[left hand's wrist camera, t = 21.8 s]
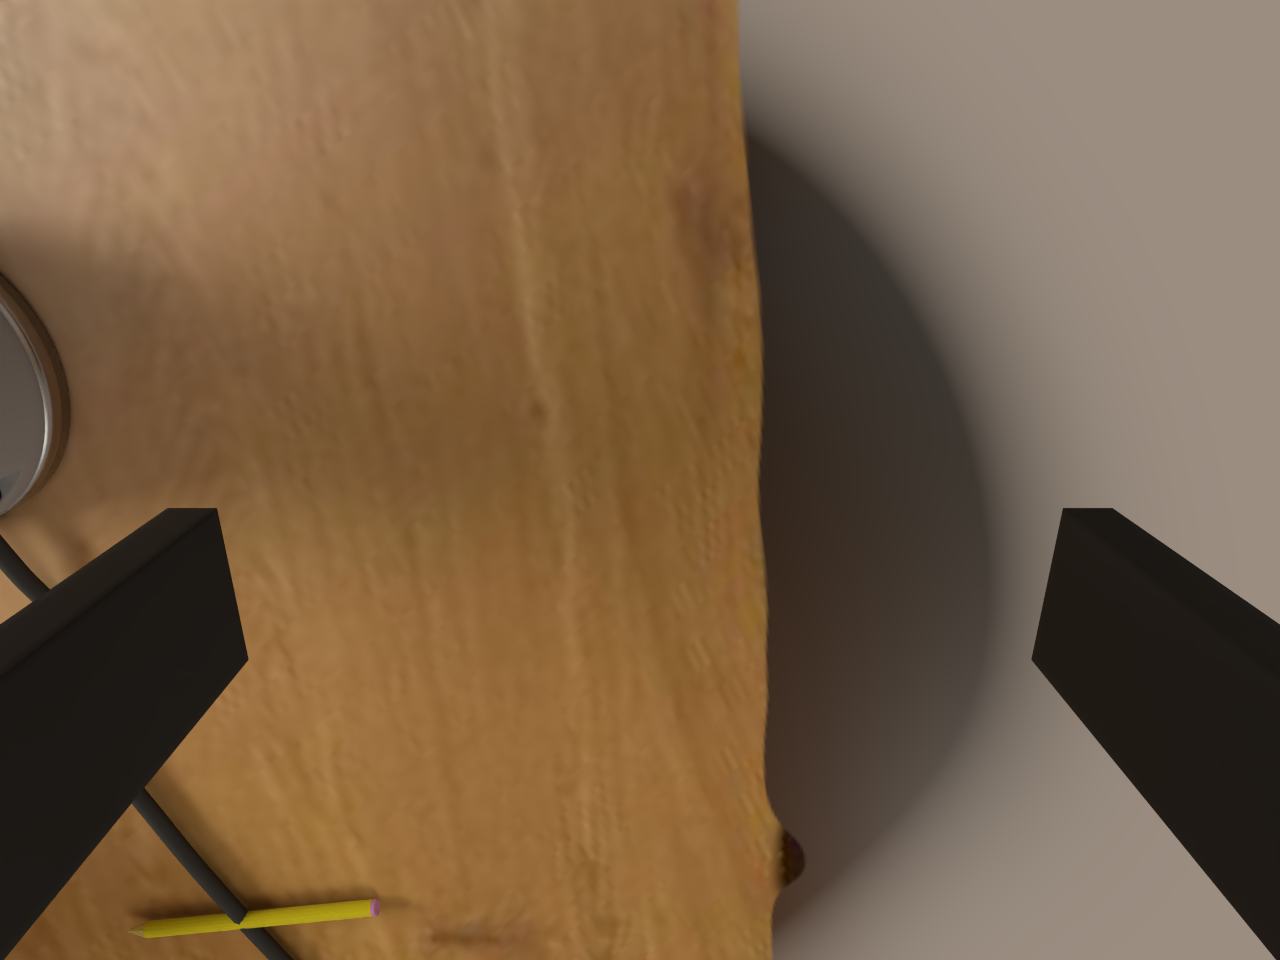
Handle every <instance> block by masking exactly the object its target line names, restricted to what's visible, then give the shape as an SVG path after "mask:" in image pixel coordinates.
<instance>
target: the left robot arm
mask: <svg viewBox="0 0 1280 960" xmlns="http://www.w3.org/2000/svg"><path fill="white" fill-rule="evenodd" d="M69 424H70V404H69V396H68V389H67V385H66V380H65V376H64V373H63V370H62V367H61V364H60V361H59V358H58V356H57V353H56V351H55V349H54V346H53V344H52V342H51V340H50V338H49V337H48V335H47V333H46V331H45V329H44V328H43V326H42V324H41V323H40V321H39V320H38V318H37V317H36V315H35V314H34V312H33V311H32V310H31V308H30V307H29V306H28V304H27V303H26V302H25V300H24V299H23V298H22V297H21V296H20V295H19V294H18V292H17V291H16V290H15V289H14V288H13V287H12V286H11V285H10V284H9V283H8V282H7V281H6V280H5V279H4V278H3V277H2V276H1V275H0V516H1V515H3V514H5V513H6V512H8V511H10V510H12V509H14V508H16V507H18V506H20V505H22V504H23V503H25V502H26V501H28V500H29V499H30V498H32V497H33V496H34V495H35V494H37V493H38V492H39V491H40V490H41V489H42V488H43V487H44V486H45V484H46V483H47V482H48V481H49V480H50V478H51V477H52V475H53V474H54V472H55V471H56V469H57V467H58V465H59V463H60V461H61V459H62V456H63V453H64V450H65V447H66V444H67V439H68V434H69ZM0 569H1V570H2V571H3V572H4V574H5V575H6V576H7V577H8V578H9V579H10V580H11V581H12V582H13V583H14V584H15V585H16V587H17V588H19V589H20V590H21V591H22V592H23V593H24V594H25V595H26V596H27V597H28V598H29V599H30V600H31V601H32V603H30V604H29V605H28V606H26V607H25V608H23V609H22V610H20V611H19V612H18V613H16V614H15V615H13V616H12V617H10V618H9V619H7V620H6V621H5V622H3V623H2V624H0V960H4V959H5V958H6V956H7V955H8V954H9V953H10V952H11V950H12V949H13V948H14V947H15V945H16V944H17V943H18V942H19V941H20V939H21V938H22V937H23V936H24V934H25V933H26V932H27V931H28V929H29V928H30V927H31V926H32V925H33V923H34V922H35V921H36V920H37V918H38V917H39V916H40V915H41V914H42V912H43V911H44V910H45V909H46V907H47V906H48V905H49V904H50V903H51V901H52V900H53V899H54V898H55V896H56V895H57V894H58V893H59V891H60V890H61V889H62V888H63V887H64V885H65V884H66V883H67V882H68V880H69V879H70V878H71V877H72V876H73V874H74V873H75V872H76V871H77V869H78V868H79V867H80V866H81V865H82V863H83V862H84V861H85V860H86V858H87V857H88V856H89V855H90V853H91V852H92V851H93V850H94V849H95V847H96V846H97V845H98V844H99V842H100V841H101V840H102V839H103V838H104V836H105V835H106V834H107V833H108V831H109V830H110V829H111V828H112V827H113V825H114V824H115V823H116V822H117V820H118V819H119V818H120V817H121V815H122V814H123V813H124V812H125V811H126V809H127V808H128V807H129V806H130V804H131V803H132V805H133V806H134V807H135V808H136V809H137V811H138V812H139V813H140V814H141V815H142V817H143V818H144V819H145V820H146V821H147V823H148V824H149V825H150V826H151V827H152V829H153V830H154V831H155V832H156V834H157V835H158V836H159V837H160V839H161V840H162V841H163V842H164V843H165V845H166V846H167V847H168V848H169V850H170V851H171V852H172V853H173V854H174V856H175V857H176V858H177V859H178V860H179V862H180V863H181V864H182V865H183V866H184V867H185V869H186V870H187V871H188V872H189V873H190V874H191V876H192V877H193V878H194V879H195V880H196V881H197V882H198V884H199V885H200V886H201V887H202V888H203V889H204V890H205V891H206V892H207V894H208V895H209V896H210V897H211V898H212V899H213V900H214V901H215V902H216V904H217V905H218V906H219V907H220V908H221V909H222V910H223V911H224V912H225V914H226V915H227V916H228V917H229V918H230V919H231V920H232V921H233V922H234V923H235V924H239V925H240V923H241V922H242V921H243V919H244V917H245V916H246V914H247V912H248V910H247V909H246V908H245V907H244V906H243V905H242V904H241V903H240V901H239V900H238V899H237V898H236V897H235V896H234V895H233V894H232V892H231V891H230V890H229V889H228V888H227V887H226V886H225V885H224V883H223V882H222V881H221V880H220V879H219V878H218V877H217V875H216V874H215V873H214V872H213V871H212V870H211V869H210V867H209V866H208V865H207V864H206V863H205V862H204V861H203V859H202V858H201V857H200V856H199V855H198V853H197V852H196V851H195V850H194V849H193V847H192V846H191V845H190V844H189V843H188V841H187V840H186V839H185V838H184V836H183V835H182V834H181V833H180V831H179V830H178V829H177V828H176V826H175V825H174V824H173V823H172V821H171V820H170V819H169V818H168V816H167V815H166V814H165V813H164V811H163V810H162V809H161V808H160V806H159V805H158V804H157V803H156V802H155V800H154V799H153V798H152V797H151V795H150V794H149V793H148V792H147V791H146V789H145V788H144V787H145V786H146V785H147V784H148V782H149V781H150V780H151V779H152V777H153V776H154V775H155V774H156V773H157V771H158V770H159V769H160V768H161V766H162V765H163V764H164V763H165V762H166V760H167V759H168V758H169V757H170V755H171V754H172V753H173V752H174V750H175V749H176V748H177V747H178V746H179V744H180V743H181V742H182V741H183V739H184V738H185V737H186V736H187V735H188V733H189V732H190V731H191V730H192V728H193V727H194V726H195V725H196V724H197V722H198V721H199V720H200V719H201V717H202V716H203V715H204V714H205V712H206V711H207V710H208V709H209V708H210V706H211V705H212V704H213V703H214V701H215V700H216V699H217V698H218V697H219V695H220V694H221V693H222V692H223V690H224V689H225V688H226V687H227V686H228V684H229V683H230V682H231V681H232V679H233V678H234V677H235V676H236V674H237V673H238V672H239V671H240V670H241V668H242V667H243V666H244V665H245V663H246V662H247V661H248V655H247V650H246V645H245V640H244V636H243V631H242V626H241V621H240V616H239V612H238V607H237V602H236V597H235V592H234V588H233V583H232V578H231V573H230V568H229V564H228V559H227V554H226V549H225V544H224V540H223V535H222V530H221V525H220V521H219V516H218V511H217V508H167V509H166V510H164V511H163V512H161V513H160V514H158V515H157V516H156V517H154V518H153V519H151V520H150V521H148V522H147V523H146V524H144V525H143V526H141V527H140V528H138V529H137V530H135V531H134V532H133V533H131V534H130V535H128V536H127V537H125V538H124V539H123V540H121V541H120V542H118V543H117V544H115V545H114V546H112V547H111V548H110V549H108V550H107V551H105V552H104V553H102V554H101V555H100V556H98V557H97V558H95V559H94V560H92V561H91V562H89V563H88V564H87V565H85V566H84V567H82V568H81V569H79V570H78V571H76V572H75V573H74V574H72V575H71V576H69V577H68V578H66V579H65V580H64V581H62V582H61V583H59V584H58V585H56V586H55V587H53V588H52V589H51V590H50V589H49V588H48V587H47V586H46V585H45V584H44V583H43V582H42V581H41V580H40V579H39V578H38V577H37V576H36V575H35V574H34V573H33V572H32V571H31V570H30V569H29V568H28V567H27V565H26V564H25V563H24V562H23V561H22V560H21V559H20V557H19V556H18V555H17V554H16V553H15V551H14V550H13V549H12V548H11V547H10V546H9V544H8V543H7V542H6V541H5V540H4V538H3V537H2V536H1V535H0ZM1032 661H1033V662H1034V663H1035V665H1036V666H1037V667H1038V668H1039V670H1040V671H1041V672H1042V673H1043V674H1044V676H1045V677H1046V678H1047V679H1048V681H1049V682H1050V683H1051V684H1052V685H1053V687H1054V688H1055V689H1056V690H1057V692H1058V693H1059V694H1060V695H1061V696H1062V698H1063V699H1064V700H1065V701H1066V703H1067V704H1068V705H1069V706H1070V708H1071V709H1072V710H1073V711H1074V712H1075V714H1076V715H1077V716H1078V717H1079V719H1080V720H1081V721H1082V722H1083V723H1084V725H1085V726H1086V727H1087V728H1088V730H1089V731H1090V732H1091V733H1092V735H1093V736H1094V737H1095V738H1096V739H1097V741H1098V742H1099V743H1100V744H1101V746H1102V747H1103V748H1104V749H1105V750H1106V752H1107V753H1108V754H1109V755H1110V757H1111V758H1112V759H1113V760H1114V762H1115V763H1116V764H1117V765H1118V766H1119V768H1120V769H1121V770H1122V771H1123V773H1124V774H1125V775H1126V776H1127V777H1128V779H1129V780H1130V781H1131V782H1132V784H1133V785H1134V786H1135V787H1136V788H1137V790H1138V791H1139V792H1140V793H1141V795H1142V796H1143V797H1144V798H1145V799H1146V801H1147V802H1148V803H1149V804H1150V806H1151V807H1152V808H1153V809H1154V811H1155V812H1156V813H1157V814H1158V815H1159V817H1160V818H1161V819H1162V820H1163V822H1164V823H1165V824H1166V825H1167V826H1168V828H1169V829H1170V830H1171V831H1172V833H1173V834H1174V835H1175V836H1176V838H1177V839H1178V840H1179V841H1180V842H1181V844H1182V845H1183V846H1184V847H1185V849H1186V850H1187V851H1188V852H1189V853H1190V855H1191V856H1192V857H1193V858H1194V860H1195V861H1196V862H1197V863H1198V865H1199V866H1200V867H1201V868H1202V869H1203V871H1204V872H1205V873H1206V874H1207V876H1208V877H1209V878H1210V879H1211V880H1212V882H1213V883H1214V884H1215V885H1216V887H1217V888H1218V889H1219V890H1220V891H1221V893H1222V894H1223V895H1224V896H1225V898H1226V899H1227V900H1228V901H1229V903H1230V904H1231V905H1232V906H1233V907H1234V909H1235V910H1236V911H1237V912H1238V913H1239V915H1240V916H1241V917H1242V918H1243V920H1244V921H1245V922H1246V923H1247V925H1248V926H1249V927H1250V928H1251V929H1252V931H1253V932H1254V933H1255V934H1256V936H1257V937H1258V938H1259V939H1260V941H1261V942H1262V943H1263V944H1264V945H1265V947H1266V948H1267V949H1268V950H1269V952H1270V953H1271V954H1272V955H1273V956H1274V958H1275V959H1276V960H1280V624H1278V623H1277V622H1275V621H1274V620H1273V619H1271V618H1270V617H1268V616H1267V615H1265V614H1264V613H1262V612H1261V611H1260V610H1258V609H1257V608H1255V607H1254V606H1252V605H1251V604H1250V603H1248V602H1247V601H1245V600H1244V599H1242V598H1241V597H1239V596H1238V595H1237V594H1235V593H1234V592H1232V591H1231V590H1229V589H1228V588H1227V587H1225V586H1224V585H1222V584H1221V583H1219V582H1218V581H1216V580H1215V579H1214V578H1212V577H1211V576H1209V575H1208V574H1206V573H1205V572H1203V571H1202V570H1201V569H1199V568H1198V567H1196V566H1195V565H1193V564H1192V563H1191V562H1189V561H1188V560H1186V559H1185V558H1183V557H1182V556H1180V555H1179V554H1178V553H1176V552H1175V551H1173V550H1172V549H1170V548H1169V547H1168V546H1166V545H1165V544H1163V543H1162V542H1160V541H1159V540H1157V539H1156V538H1155V537H1153V536H1152V535H1150V534H1149V533H1147V532H1146V531H1145V530H1143V529H1142V528H1140V527H1139V526H1137V525H1136V524H1134V523H1133V522H1132V521H1130V520H1129V519H1127V518H1126V517H1124V516H1123V515H1121V514H1120V513H1119V512H1117V511H1116V510H1114V509H1113V508H1063V511H1062V516H1061V521H1060V525H1059V530H1058V535H1057V540H1056V544H1055V549H1054V554H1053V559H1052V564H1051V568H1050V573H1049V578H1048V583H1047V588H1046V592H1045V597H1044V602H1043V607H1042V612H1041V617H1040V621H1039V626H1038V631H1037V636H1036V640H1035V645H1034V650H1033V655H1032ZM240 930H241V931H242V932H243V933H244V934H245V935H246V936H247V937H248V939H249V940H250V941H251V942H252V943H253V944H254V945H255V946H256V947H257V948H258V949H259V950H260V951H261V952H262V953H263V954H264V955H265V956H266V957H267V958H268V959H269V960H293V959H292V958H291V956H290V955H289V954H288V953H287V952H286V951H285V950H284V949H283V948H282V947H281V946H280V945H279V944H278V943H277V942H276V941H275V940H274V939H273V937H272V936H271V935H270V934H269V933H268V932H267V931H266V930H265V929H264V928H263V927H258V928H242V929H240Z"/></svg>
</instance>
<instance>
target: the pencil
mask: <svg viewBox="0 0 1280 960" xmlns="http://www.w3.org/2000/svg"><path fill="white" fill-rule="evenodd" d="M379 911H380V901H379V899H367V900H356V901H346V902H336V903H325V904H315V905H305V906H295V907H284V908H274V909H264V910H254V911H248V912H247V914H246V916H245V917H244V919H243V921H242V922H241V923H240V925H239V924H235V923H234V922H233V921H232V920H231V919H230V918H229V917H228V916H227V915H226V914H225V913H223V914H213V915H202V916H192V917H182V918H172V919H161V920H151V921H148V922H146V923H144V924H142V925H139V926H137V927H135V928H133V929H131V930H129V931H126V932H129V933H133V934H136V935H139V936H142V937H145V938H153V937H164V936H174V935H185V934H195V933H205V932H216V931H226V930H237V929H242V928H258V927H268V926H279V925H289V924H299V923H310V922H320V921H331V920H341V919H352V918H362V917H372V916H377V915H378V914H379Z"/></svg>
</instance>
